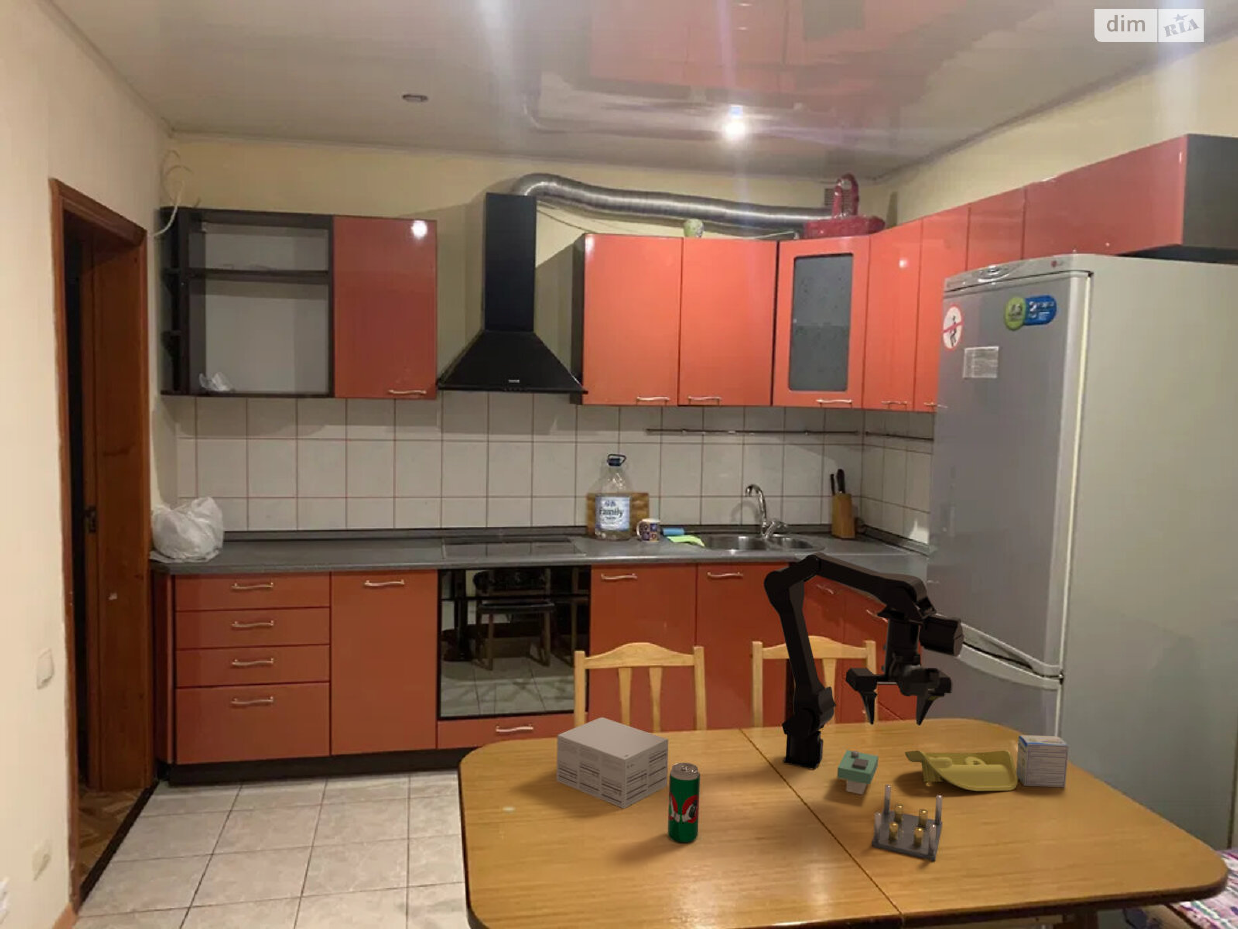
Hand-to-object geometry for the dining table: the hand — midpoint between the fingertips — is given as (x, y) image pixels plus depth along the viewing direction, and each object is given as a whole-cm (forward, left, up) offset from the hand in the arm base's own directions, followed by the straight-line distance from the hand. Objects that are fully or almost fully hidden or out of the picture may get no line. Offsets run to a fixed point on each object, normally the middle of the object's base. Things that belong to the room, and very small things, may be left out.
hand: (894, 724), depth 171 cm
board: (-6, -3, -9) cm, 11 cm away
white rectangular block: (-6, -3, -13) cm, 14 cm away
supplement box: (-48, -23, -13) cm, 55 cm away
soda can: (-29, -36, -13) cm, 48 cm away
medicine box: (+26, +16, -13) cm, 33 cm away
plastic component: (+11, +10, -13) cm, 20 cm away
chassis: (+5, -18, -13) cm, 22 cm away
